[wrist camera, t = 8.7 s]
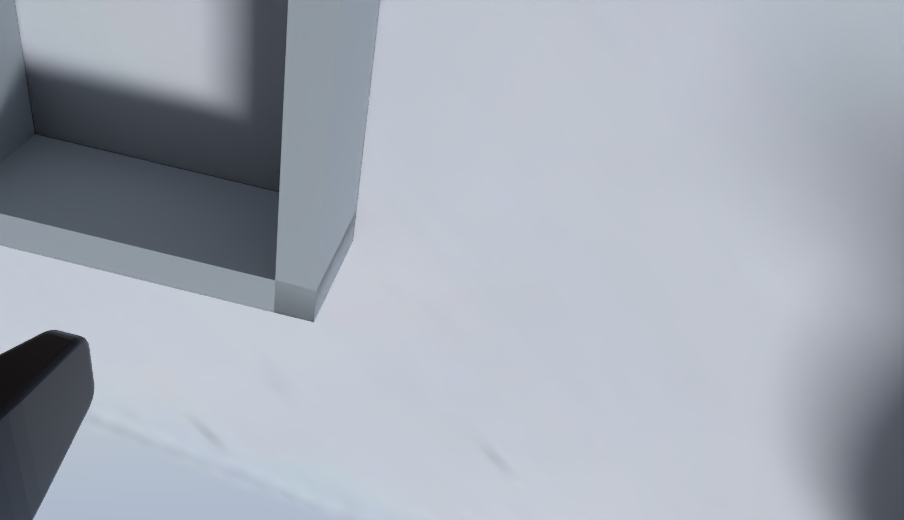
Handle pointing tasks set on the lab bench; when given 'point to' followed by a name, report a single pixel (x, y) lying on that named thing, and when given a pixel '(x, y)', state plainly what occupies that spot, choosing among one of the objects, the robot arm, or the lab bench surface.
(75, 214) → the shelf lane
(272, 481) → the lab bench surface
